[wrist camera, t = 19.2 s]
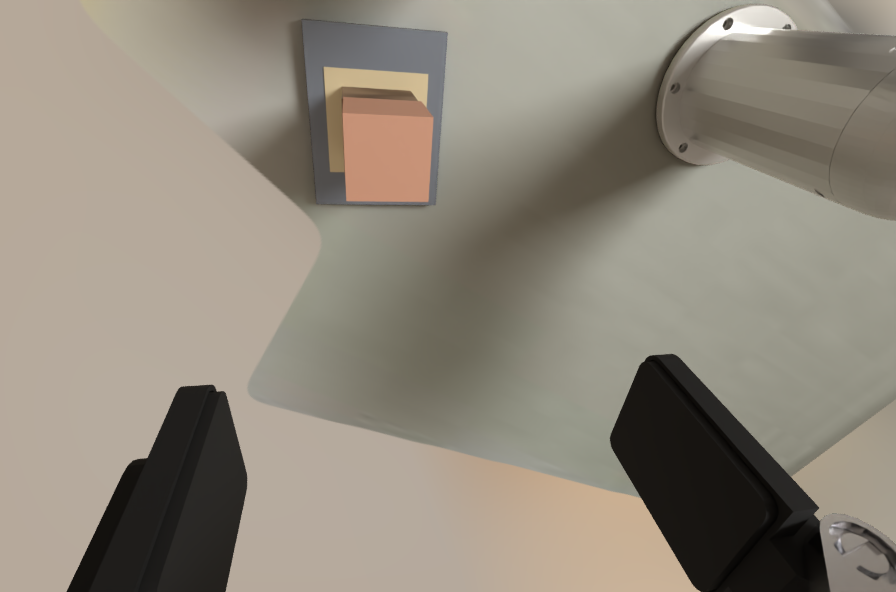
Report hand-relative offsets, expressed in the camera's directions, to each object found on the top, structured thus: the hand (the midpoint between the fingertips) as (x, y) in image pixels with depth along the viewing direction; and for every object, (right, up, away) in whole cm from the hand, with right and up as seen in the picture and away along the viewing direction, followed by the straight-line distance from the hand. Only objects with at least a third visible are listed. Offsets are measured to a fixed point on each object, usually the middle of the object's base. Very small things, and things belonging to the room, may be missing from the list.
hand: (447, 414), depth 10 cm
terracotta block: (-4, +13, +20) cm, 24 cm away
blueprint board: (-6, +16, +25) cm, 30 cm away
